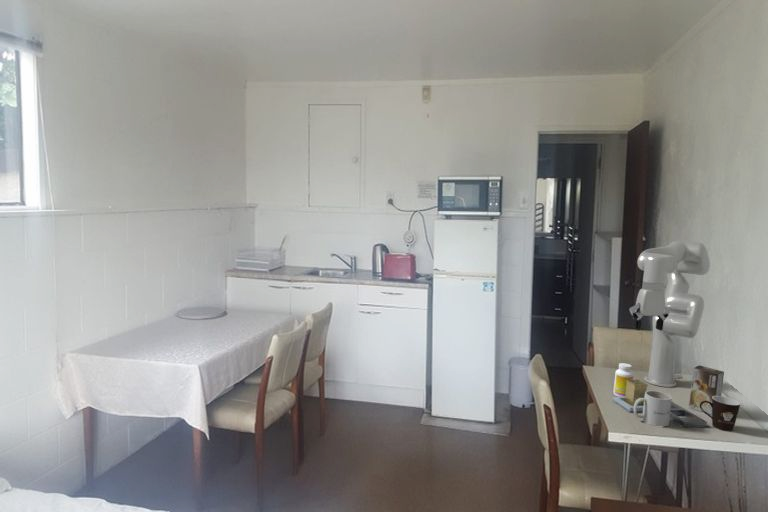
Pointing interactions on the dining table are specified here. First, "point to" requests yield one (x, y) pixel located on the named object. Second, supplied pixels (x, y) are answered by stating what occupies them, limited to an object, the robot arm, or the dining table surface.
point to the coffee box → (705, 387)
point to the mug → (655, 408)
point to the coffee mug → (723, 412)
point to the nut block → (635, 392)
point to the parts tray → (621, 401)
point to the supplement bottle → (622, 379)
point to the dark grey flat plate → (689, 418)
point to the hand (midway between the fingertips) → (647, 329)
